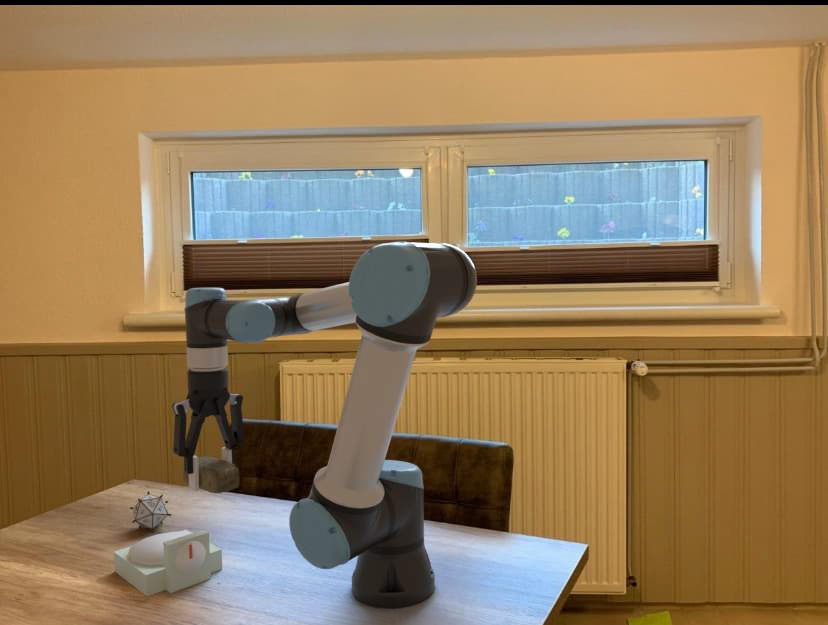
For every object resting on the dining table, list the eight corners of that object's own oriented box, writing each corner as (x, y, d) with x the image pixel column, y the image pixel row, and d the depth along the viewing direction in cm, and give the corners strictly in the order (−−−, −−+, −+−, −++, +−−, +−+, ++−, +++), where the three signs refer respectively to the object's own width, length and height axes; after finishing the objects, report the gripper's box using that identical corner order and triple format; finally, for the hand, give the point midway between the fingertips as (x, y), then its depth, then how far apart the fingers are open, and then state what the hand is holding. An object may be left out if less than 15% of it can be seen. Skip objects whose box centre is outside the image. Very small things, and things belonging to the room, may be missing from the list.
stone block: (217, 497, 126) (216, 471, 126) (181, 485, 133) (180, 460, 133) (242, 488, 131) (241, 463, 131) (206, 477, 138) (205, 453, 137)
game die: (161, 542, 156) (185, 508, 155) (130, 542, 149) (155, 506, 148) (146, 515, 161) (169, 482, 160) (115, 514, 154) (139, 479, 153)
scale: (229, 573, 131) (227, 527, 130) (153, 601, 120) (150, 552, 120) (186, 547, 143) (184, 506, 143) (114, 571, 133) (112, 526, 132)
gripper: (243, 360, 139) (245, 469, 141) (150, 371, 126) (154, 491, 128) (262, 364, 134) (264, 478, 136) (166, 376, 121) (171, 502, 123)
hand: (211, 484), depth 132 cm, fingers closed on stone block, 6 cm apart
